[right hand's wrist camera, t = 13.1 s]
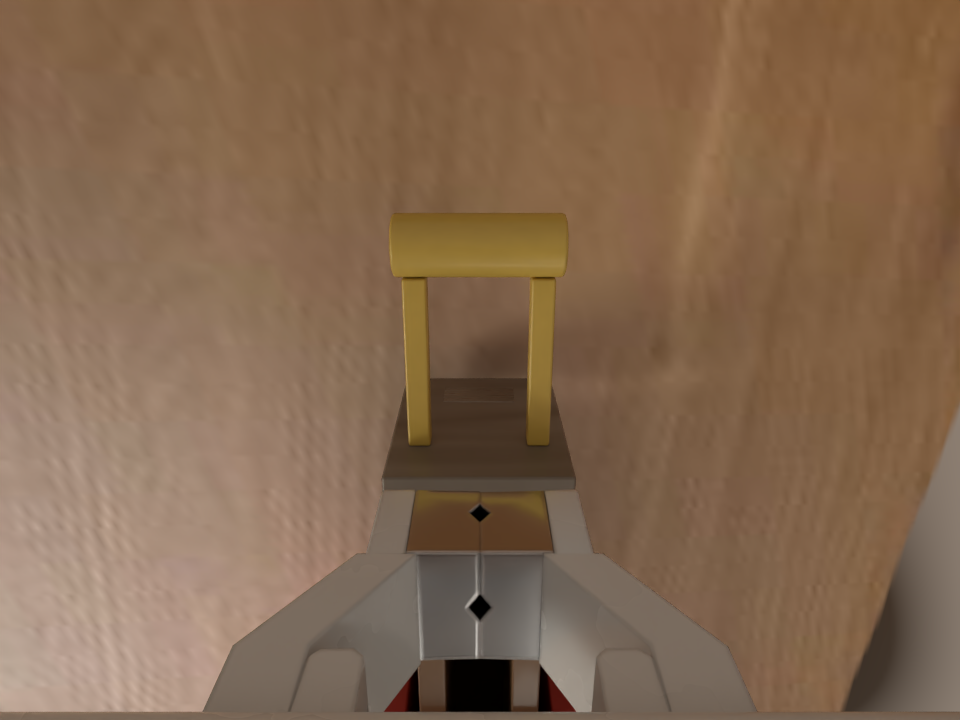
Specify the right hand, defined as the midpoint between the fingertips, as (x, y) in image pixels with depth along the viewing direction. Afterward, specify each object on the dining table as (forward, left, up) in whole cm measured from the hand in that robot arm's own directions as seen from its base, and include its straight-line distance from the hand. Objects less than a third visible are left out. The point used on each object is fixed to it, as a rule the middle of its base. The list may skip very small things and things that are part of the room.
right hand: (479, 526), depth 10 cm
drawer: (+7, -3, -12) cm, 14 cm away
